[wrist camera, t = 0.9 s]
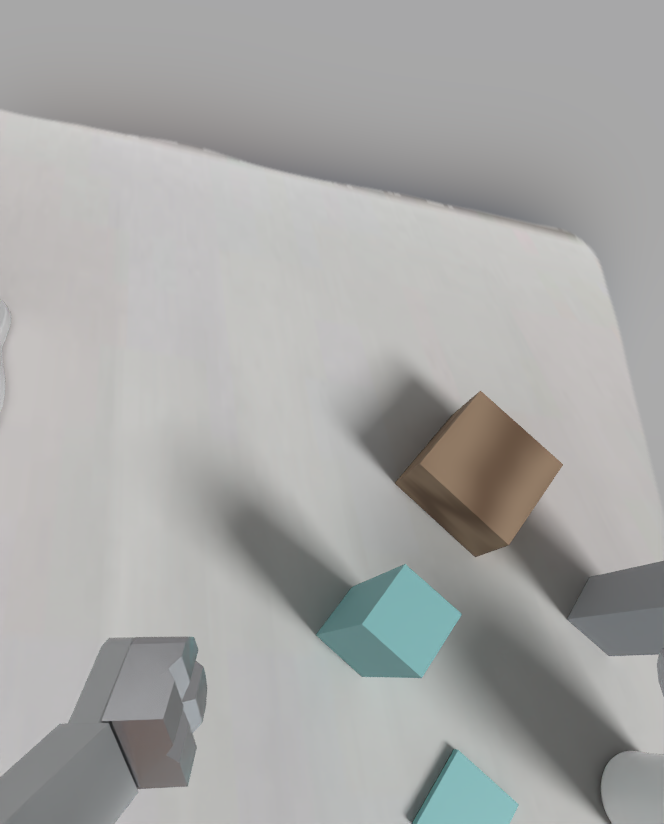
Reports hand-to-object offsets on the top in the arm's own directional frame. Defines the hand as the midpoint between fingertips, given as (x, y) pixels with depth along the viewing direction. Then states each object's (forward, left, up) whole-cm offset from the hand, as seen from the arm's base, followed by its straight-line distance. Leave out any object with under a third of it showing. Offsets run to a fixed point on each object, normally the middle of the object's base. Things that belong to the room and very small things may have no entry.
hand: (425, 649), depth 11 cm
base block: (+5, +21, -31) cm, 38 cm away
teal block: (+5, +7, -31) cm, 32 cm away
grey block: (+19, +20, -31) cm, 41 cm away
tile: (+17, +3, -31) cm, 35 cm away
